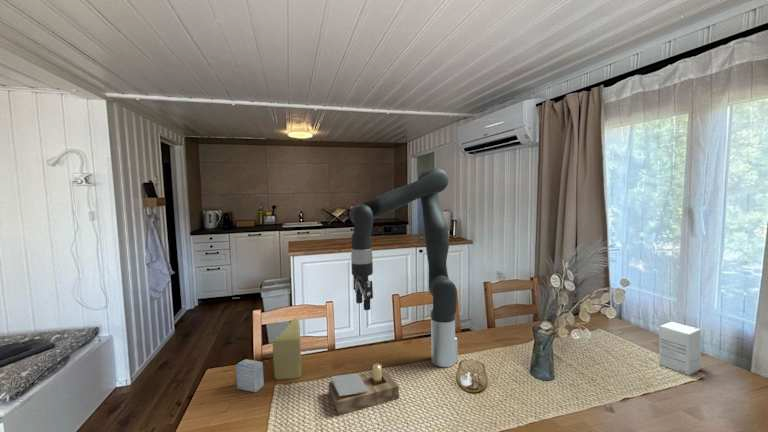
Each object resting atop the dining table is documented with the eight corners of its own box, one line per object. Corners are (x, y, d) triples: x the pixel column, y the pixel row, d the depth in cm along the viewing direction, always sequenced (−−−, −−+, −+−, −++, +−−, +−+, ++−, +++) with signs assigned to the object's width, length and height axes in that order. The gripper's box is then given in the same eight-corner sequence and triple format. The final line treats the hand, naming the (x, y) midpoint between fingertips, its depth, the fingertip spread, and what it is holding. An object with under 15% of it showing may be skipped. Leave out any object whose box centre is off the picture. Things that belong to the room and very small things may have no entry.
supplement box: (670, 359, 123) (670, 320, 123) (701, 369, 115) (701, 329, 115) (657, 364, 119) (658, 325, 119) (688, 376, 111) (689, 333, 111)
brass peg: (380, 388, 107) (379, 362, 107) (383, 393, 105) (383, 366, 104) (371, 390, 106) (371, 364, 106) (374, 395, 104) (374, 368, 103)
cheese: (286, 352, 136) (285, 317, 135) (309, 350, 137) (308, 316, 136) (273, 380, 114) (271, 339, 113) (301, 378, 115) (299, 338, 114)
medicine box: (264, 386, 111) (263, 361, 110) (255, 393, 107) (254, 368, 106) (246, 382, 113) (245, 358, 113) (236, 389, 109) (235, 364, 109)
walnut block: (384, 379, 113) (384, 368, 113) (398, 398, 102) (398, 386, 102) (328, 393, 105) (328, 381, 105) (338, 415, 94) (337, 402, 94)
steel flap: (357, 376, 108) (357, 373, 108) (367, 392, 99) (367, 388, 99) (331, 379, 104) (331, 376, 104) (339, 396, 95) (339, 392, 95)
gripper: (379, 263, 108) (380, 310, 108) (365, 257, 121) (366, 299, 121) (358, 265, 105) (359, 314, 105) (346, 259, 118) (347, 302, 118)
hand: (363, 306), depth 113 cm, fingers open, 8 cm apart
